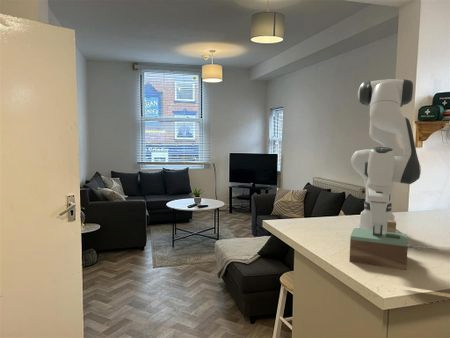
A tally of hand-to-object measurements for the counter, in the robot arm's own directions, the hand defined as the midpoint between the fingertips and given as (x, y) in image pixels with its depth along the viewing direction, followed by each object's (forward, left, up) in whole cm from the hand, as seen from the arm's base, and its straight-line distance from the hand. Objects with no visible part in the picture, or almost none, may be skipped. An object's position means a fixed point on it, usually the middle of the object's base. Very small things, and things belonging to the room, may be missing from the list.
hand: (377, 231), depth 127 cm
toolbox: (0, +1, -11) cm, 11 cm away
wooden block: (-12, +5, -11) cm, 17 cm away
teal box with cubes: (0, +1, -2) cm, 2 cm away
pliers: (-24, +14, -12) cm, 30 cm away
